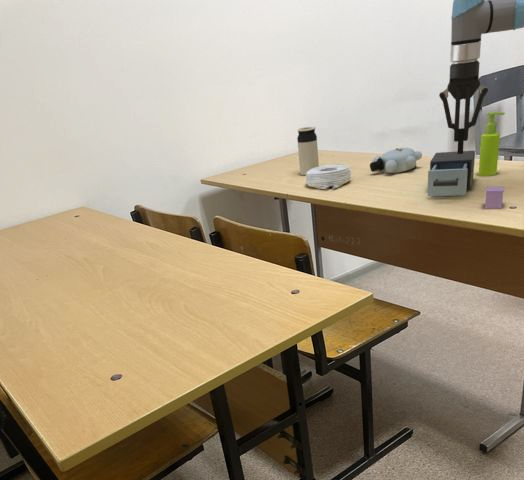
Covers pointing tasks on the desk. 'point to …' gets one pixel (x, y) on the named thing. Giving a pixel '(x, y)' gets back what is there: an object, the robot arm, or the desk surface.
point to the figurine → (396, 160)
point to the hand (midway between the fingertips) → (460, 152)
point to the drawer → (448, 179)
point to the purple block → (494, 197)
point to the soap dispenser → (489, 147)
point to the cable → (328, 176)
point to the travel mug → (307, 149)
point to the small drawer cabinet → (456, 158)
